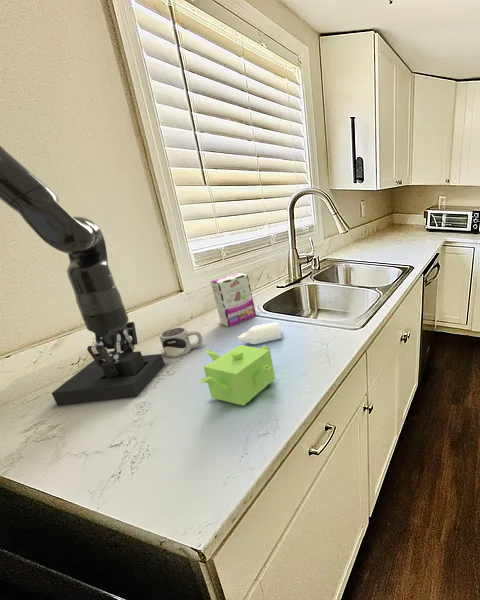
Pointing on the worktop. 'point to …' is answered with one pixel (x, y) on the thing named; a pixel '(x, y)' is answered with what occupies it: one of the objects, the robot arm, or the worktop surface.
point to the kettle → (239, 373)
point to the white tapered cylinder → (261, 333)
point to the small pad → (127, 364)
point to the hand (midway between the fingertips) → (125, 370)
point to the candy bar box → (233, 299)
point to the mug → (178, 341)
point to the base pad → (106, 383)
